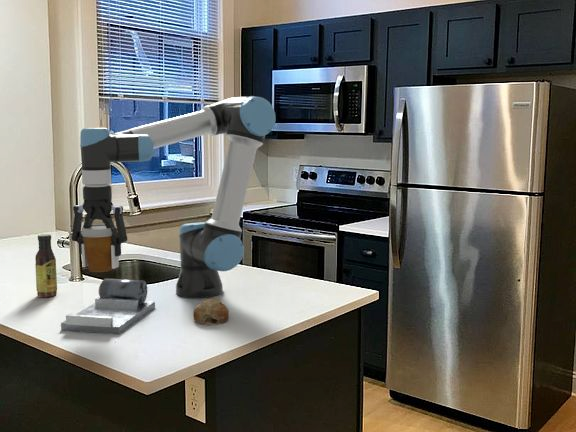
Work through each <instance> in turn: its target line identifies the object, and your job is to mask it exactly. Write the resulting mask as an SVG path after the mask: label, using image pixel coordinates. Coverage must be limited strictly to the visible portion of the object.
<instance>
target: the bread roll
mask: <svg viewBox="0 0 576 432" xmlns="http://www.w3.org/2000/svg"><path fill="white" fill-rule="evenodd" d="M192 316H193V321H195V322H196V323H197V324H199V323H200V325H203V324H206V325H205V326H212V324H214V325H219V323H220V324H225V323H227V322H228V321H229V316H230V312H229V308H228V306H227V305H226V304H225V303H223V301H221V300H218V299H216V298H211V297H210V298H207V299H205V300H203V301H201V303H199V304H198V305H196V306H195V308H194V309H193V315H192ZM224 322H225V323H224Z"/></svg>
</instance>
